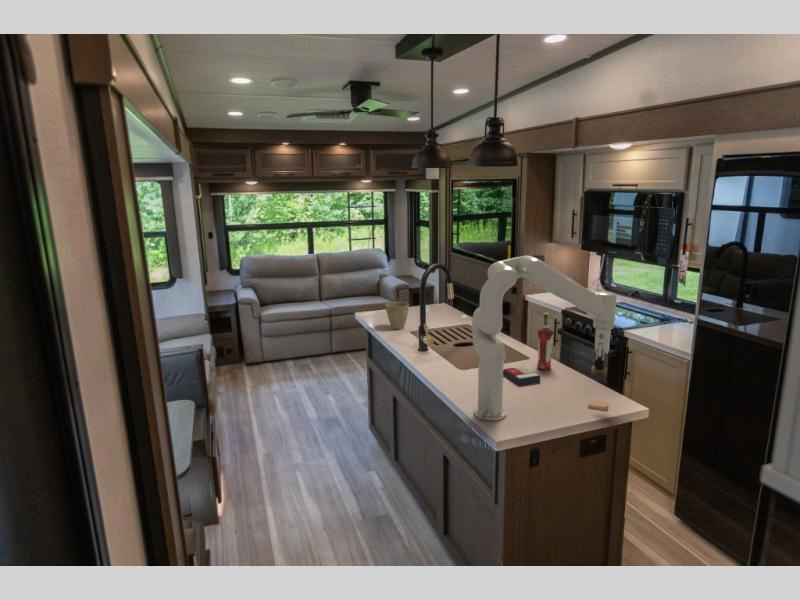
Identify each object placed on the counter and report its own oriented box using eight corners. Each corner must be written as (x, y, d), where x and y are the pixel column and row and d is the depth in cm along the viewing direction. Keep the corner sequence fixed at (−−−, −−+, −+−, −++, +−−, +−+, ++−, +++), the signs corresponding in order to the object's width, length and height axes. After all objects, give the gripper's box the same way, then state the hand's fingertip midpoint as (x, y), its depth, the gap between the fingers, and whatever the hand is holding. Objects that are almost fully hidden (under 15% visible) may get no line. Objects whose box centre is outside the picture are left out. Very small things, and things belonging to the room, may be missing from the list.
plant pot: (408, 324, 331) (408, 301, 327) (409, 331, 316) (409, 306, 313) (386, 325, 330) (385, 301, 327) (386, 332, 316) (385, 307, 312)
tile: (607, 406, 206) (606, 411, 201) (589, 403, 209) (588, 408, 204) (607, 402, 205) (606, 407, 201) (589, 399, 208) (588, 404, 204)
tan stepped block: (606, 376, 199) (609, 347, 197) (591, 373, 202) (593, 345, 199) (606, 373, 202) (609, 345, 199) (591, 371, 204) (594, 343, 202)
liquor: (539, 364, 253) (541, 310, 247) (553, 367, 249) (556, 312, 243) (534, 369, 247) (536, 314, 241) (548, 372, 243) (551, 316, 237)
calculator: (522, 365, 244) (540, 374, 230) (522, 373, 245) (540, 383, 231) (502, 368, 240) (519, 377, 226) (502, 376, 241) (519, 386, 227)
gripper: (612, 329, 188) (607, 375, 192) (615, 319, 203) (610, 362, 207) (591, 327, 192) (587, 372, 196) (595, 317, 206) (591, 360, 210)
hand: (599, 367), depth 201 cm, fingers closed on tan stepped block, 3 cm apart
